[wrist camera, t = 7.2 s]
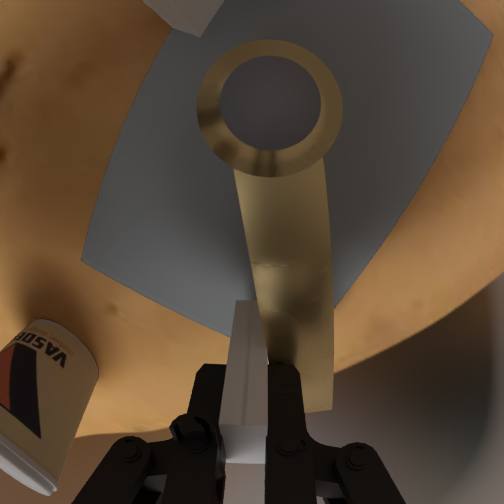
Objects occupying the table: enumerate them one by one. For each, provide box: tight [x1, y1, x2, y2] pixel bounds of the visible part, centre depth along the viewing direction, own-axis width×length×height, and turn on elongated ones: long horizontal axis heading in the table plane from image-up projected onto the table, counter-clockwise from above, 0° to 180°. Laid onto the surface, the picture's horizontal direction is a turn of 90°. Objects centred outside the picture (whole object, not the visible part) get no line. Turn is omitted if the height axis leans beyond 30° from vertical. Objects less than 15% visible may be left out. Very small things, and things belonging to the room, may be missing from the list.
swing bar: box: [196, 40, 343, 413], centre depth 11 cm, size 14×4×6 cm, turn 9°
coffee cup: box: [0, 319, 98, 496], centre depth 15 cm, size 9×9×12 cm
